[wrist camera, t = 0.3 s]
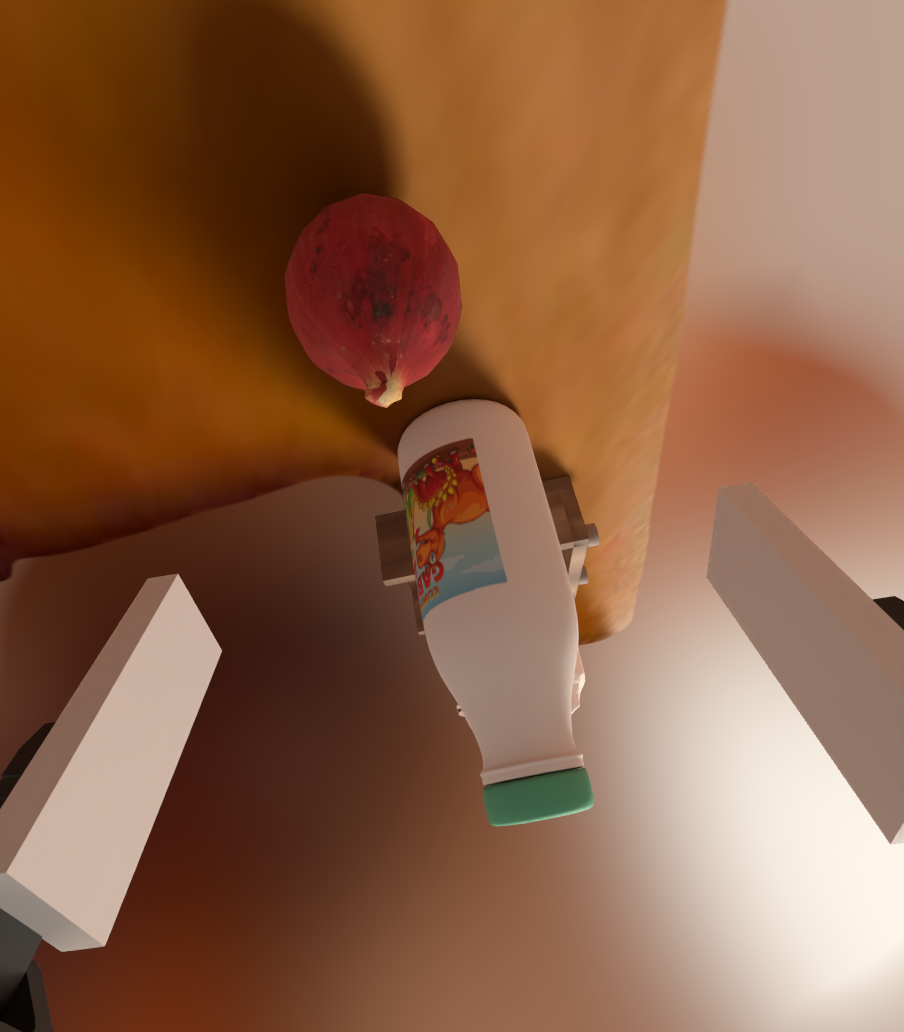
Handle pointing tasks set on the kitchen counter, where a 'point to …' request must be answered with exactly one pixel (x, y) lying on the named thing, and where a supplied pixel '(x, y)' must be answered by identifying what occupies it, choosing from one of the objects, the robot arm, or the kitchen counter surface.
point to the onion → (373, 295)
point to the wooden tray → (566, 523)
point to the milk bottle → (496, 602)
